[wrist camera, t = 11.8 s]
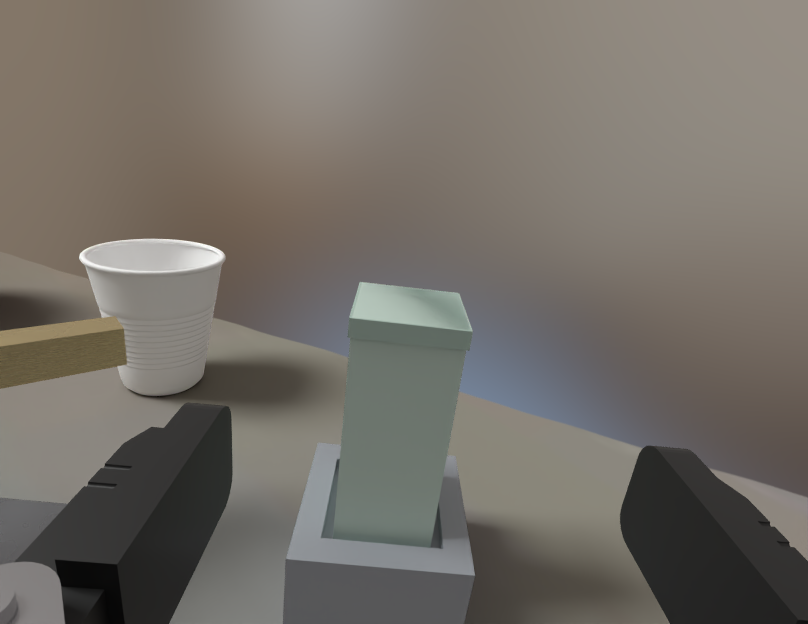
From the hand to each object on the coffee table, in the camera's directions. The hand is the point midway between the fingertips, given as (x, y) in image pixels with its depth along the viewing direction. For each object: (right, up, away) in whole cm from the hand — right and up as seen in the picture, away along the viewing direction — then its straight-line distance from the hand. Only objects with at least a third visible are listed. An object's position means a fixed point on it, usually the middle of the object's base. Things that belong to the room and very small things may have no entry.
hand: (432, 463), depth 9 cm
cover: (-2, -7, +15) cm, 16 cm away
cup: (-21, -3, +31) cm, 37 cm away
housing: (-2, -11, +16) cm, 19 cm away
